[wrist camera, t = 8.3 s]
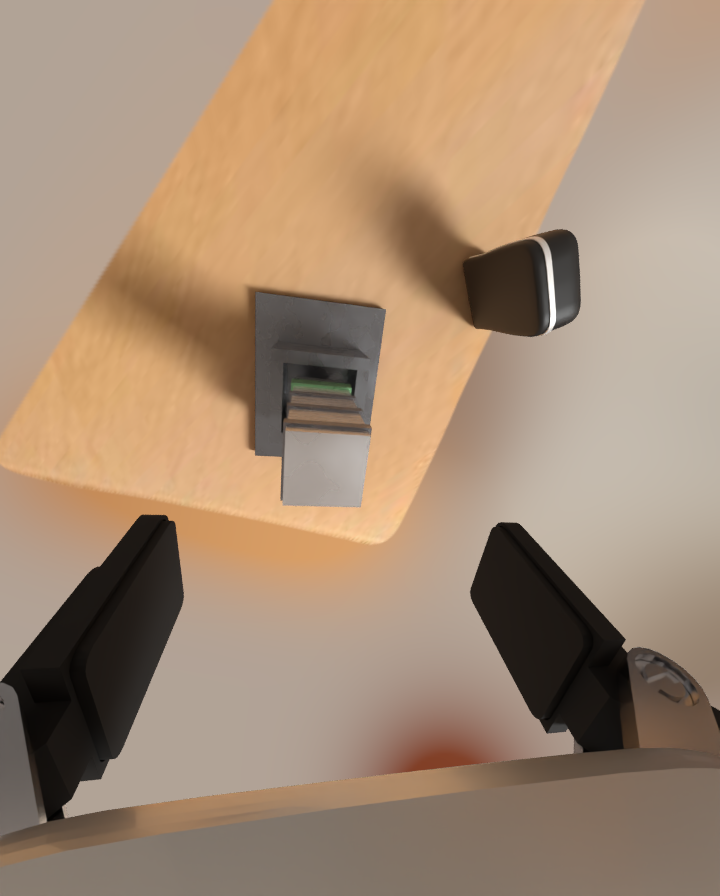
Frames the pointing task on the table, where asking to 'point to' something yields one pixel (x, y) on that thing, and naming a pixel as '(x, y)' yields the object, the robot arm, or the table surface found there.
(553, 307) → the battery charger
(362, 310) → the stand
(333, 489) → the column
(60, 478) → the table surface
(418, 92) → the table surface
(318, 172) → the table surface
